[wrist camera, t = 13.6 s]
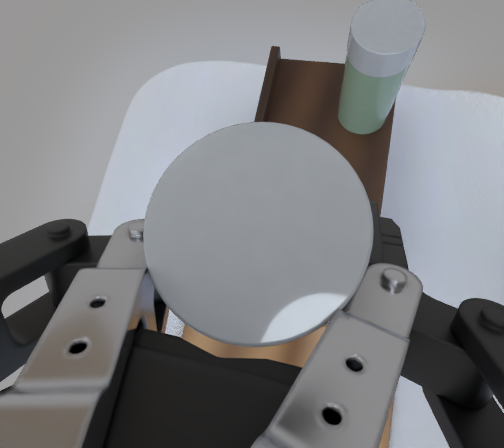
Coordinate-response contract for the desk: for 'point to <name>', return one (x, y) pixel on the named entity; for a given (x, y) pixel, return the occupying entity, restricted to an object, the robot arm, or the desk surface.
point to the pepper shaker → (258, 234)
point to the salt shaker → (377, 61)
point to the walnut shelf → (323, 115)
